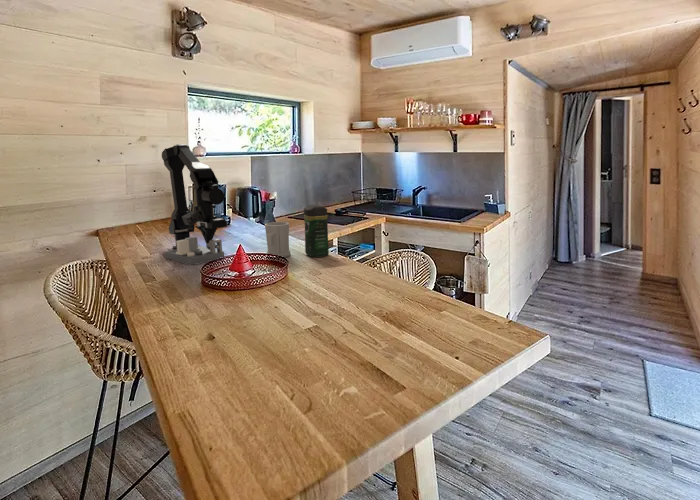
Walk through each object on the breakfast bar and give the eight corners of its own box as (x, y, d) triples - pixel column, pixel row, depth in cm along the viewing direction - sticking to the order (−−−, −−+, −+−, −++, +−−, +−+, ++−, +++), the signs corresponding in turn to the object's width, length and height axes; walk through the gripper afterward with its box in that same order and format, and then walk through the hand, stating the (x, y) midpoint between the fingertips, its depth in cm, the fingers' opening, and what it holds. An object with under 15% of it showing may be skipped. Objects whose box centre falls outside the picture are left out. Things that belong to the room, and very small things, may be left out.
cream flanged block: (175, 253, 168) (174, 240, 167) (185, 251, 171) (184, 238, 170) (181, 255, 165) (180, 241, 164) (191, 253, 168) (190, 240, 167)
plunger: (206, 250, 171) (205, 241, 171) (214, 248, 174) (213, 240, 173) (215, 252, 168) (214, 243, 167) (222, 250, 170) (222, 242, 169)
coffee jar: (331, 256, 170) (330, 205, 166) (311, 258, 167) (308, 207, 163) (322, 251, 179) (321, 202, 175) (303, 253, 176) (300, 204, 172)
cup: (293, 258, 169) (291, 225, 166) (268, 260, 166) (266, 227, 164) (288, 252, 179) (287, 221, 176) (264, 254, 176) (262, 222, 173)
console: (165, 257, 174) (163, 239, 172) (198, 251, 183) (197, 233, 182) (190, 265, 162) (188, 245, 160) (224, 257, 172) (223, 239, 170)
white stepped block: (184, 250, 173) (183, 237, 172) (194, 248, 175) (193, 236, 174) (190, 252, 170) (189, 239, 169) (199, 250, 173) (198, 237, 172)
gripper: (171, 203, 170) (175, 245, 173) (198, 206, 157) (202, 252, 161) (198, 200, 178) (202, 240, 181) (226, 203, 165) (230, 246, 169)
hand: (208, 244), depth 173 cm, fingers closed
